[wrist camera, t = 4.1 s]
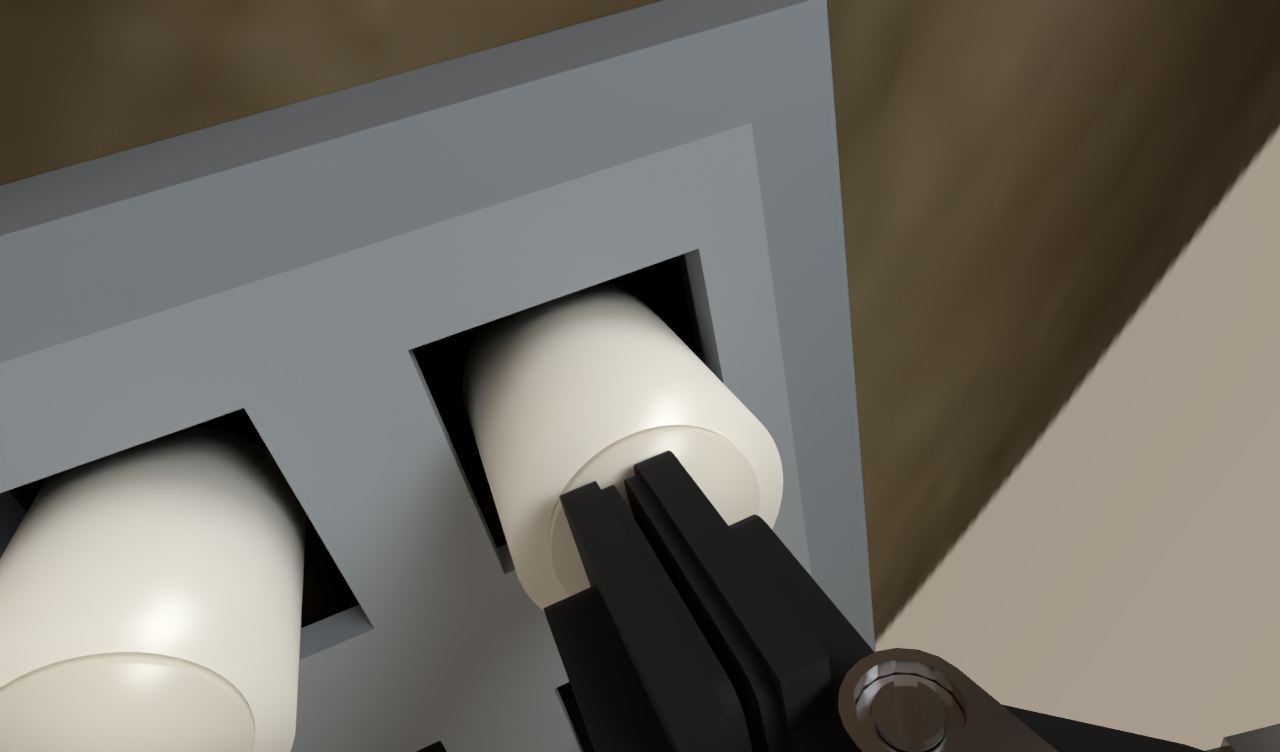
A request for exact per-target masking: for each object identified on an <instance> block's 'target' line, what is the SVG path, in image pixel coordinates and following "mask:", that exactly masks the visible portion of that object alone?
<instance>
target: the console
mask: <svg viewBox="0 0 1280 752" xmlns="http://www.w3.org/2000/svg"><path fill="white" fill-rule="evenodd" d="M676 256H678V258H679V263H680V268H681V273H682V278H683V283H684V288H685V293H686V298H687V303H688V308H689V313H690V318H691V323H692V328H693V333H694V338H695V343H696V348H697V353H698V358H699V359H700V360H701V361H702V362H703V363H704V364H705V365H706V366H707V367H708V368H709V369H710V370H711V371H712V372H713V373H714V374H715V375H716V376H717V378H718V379H719V380H720V381H721V382H722V383H723V384H724V385H725V386H726V387H727V388H728V389H729V390H730V391H731V392H732V393H733V394H734V395H735V396H736V397H737V398H738V399H739V400H740V401H741V402H742V403H743V404H744V405H745V407H746V408H747V409H748V410H749V411H750V412H751V413H752V414H753V415H754V416H755V417H756V418H757V419H758V420H759V421H760V422H761V423H762V424H763V426H764V427H765V428H766V429H767V430H768V432H769V434H770V435H771V437H772V438H773V440H774V442H775V444H776V447H777V449H778V452H779V455H780V459H781V463H782V469H783V493H782V500H781V504H780V509H779V513H778V515H777V518H776V521H775V524H774V527H773V529H772V530H773V531H774V533H775V534H776V535H777V536H778V537H779V539H780V540H781V541H782V542H783V543H784V545H785V546H786V547H787V548H788V549H789V551H790V552H791V553H792V554H793V555H794V557H795V558H796V559H797V560H798V561H799V563H800V564H801V565H802V566H803V567H804V569H805V570H806V571H807V572H808V573H809V575H810V576H811V577H812V578H813V579H814V580H815V582H816V583H817V584H818V585H819V586H820V588H821V589H822V590H823V591H824V592H825V594H826V595H827V596H828V597H829V598H830V600H831V601H832V602H833V603H834V604H835V606H836V607H837V608H838V609H839V610H840V612H841V613H842V614H843V615H844V616H845V618H846V619H847V620H848V621H849V622H850V624H851V625H852V626H853V627H854V628H855V629H856V631H857V632H858V633H859V634H860V635H861V637H862V638H863V639H864V640H865V641H866V643H867V644H868V645H869V646H870V647H871V649H872V650H873V651H874V652H875V638H874V625H873V612H872V599H871V585H870V572H869V559H868V545H867V532H866V519H865V506H864V492H863V479H862V466H861V453H860V439H859V426H858V413H857V400H856V386H855V373H854V360H853V346H852V333H851V320H850V307H849V293H848V280H847V267H846V254H845V240H844V227H843V214H842V200H841V187H840V174H839V161H838V147H837V134H836V121H835V108H834V94H833V81H832V68H831V55H830V41H829V28H828V15H827V1H826V0H663V1H660V2H656V3H652V4H649V5H645V6H642V7H638V8H635V9H631V10H627V11H624V12H620V13H617V14H613V15H609V16H606V17H602V18H599V19H595V20H592V21H588V22H584V23H581V24H577V25H574V26H570V27H567V28H563V29H559V30H556V31H552V32H549V33H545V34H541V35H538V36H534V37H531V38H527V39H524V40H520V41H516V42H513V43H509V44H506V45H502V46H498V47H495V48H491V49H488V50H484V51H481V52H477V53H473V54H470V55H466V56H463V57H459V58H456V59H452V60H448V61H445V62H441V63H438V64H434V65H430V66H427V67H423V68H420V69H416V70H413V71H409V72H405V73H402V74H398V75H395V76H391V77H387V78H384V79H380V80H377V81H373V82H370V83H366V84H362V85H359V86H355V87H352V88H348V89H345V90H341V91H337V92H334V93H330V94H327V95H323V96H319V97H316V98H312V99H309V100H305V101H302V102H298V103H294V104H291V105H287V106H284V107H280V108H276V109H273V110H269V111H266V112H262V113H259V114H255V115H251V116H248V117H244V118H241V119H237V120H234V121H230V122H226V123H223V124H219V125H216V126H212V127H208V128H205V129H201V130H198V131H194V132H191V133H187V134H183V135H180V136H176V137H173V138H169V139H165V140H162V141H158V142H155V143H151V144H148V145H144V146H140V147H137V148H133V149H130V150H126V151H123V152H119V153H115V154H112V155H108V156H105V157H101V158H97V159H94V160H90V161H87V162H83V163H80V164H76V165H72V166H69V167H65V168H62V169H58V170H54V171H51V172H47V173H44V174H40V175H37V176H33V177H29V178H26V179H22V180H19V181H15V182H12V183H8V184H4V185H1V186H0V558H1V556H2V555H3V553H4V551H5V549H6V548H7V546H8V544H9V542H10V541H11V539H12V537H13V535H14V534H15V532H16V530H17V529H18V527H19V525H20V523H21V522H22V520H23V518H24V516H25V515H26V513H27V512H26V511H25V510H24V509H23V507H22V506H21V505H20V504H19V503H18V501H17V500H16V499H15V498H14V497H13V496H12V494H11V493H10V492H9V491H8V490H11V489H14V488H16V487H19V486H22V485H25V484H28V483H31V482H34V481H36V480H39V479H42V478H45V477H48V476H51V475H54V474H56V473H59V472H62V471H65V470H68V469H71V468H74V467H76V466H79V465H82V464H85V463H88V462H91V461H93V460H96V459H99V458H102V457H105V456H108V455H111V454H113V453H116V452H119V451H122V450H125V449H128V448H131V447H133V446H136V445H139V444H142V443H145V442H148V441H151V440H153V439H156V438H159V437H162V436H165V435H168V434H171V433H173V432H176V431H179V430H182V429H185V428H188V427H191V426H193V425H196V424H199V423H202V422H205V421H208V420H211V419H213V418H216V417H219V416H222V415H225V414H228V413H231V412H233V411H236V410H239V409H242V408H244V409H245V410H246V412H247V414H248V415H249V417H250V419H251V420H252V422H253V424H254V426H255V427H256V429H257V431H258V432H259V434H260V436H261V437H262V439H263V441H264V443H265V444H266V446H267V448H268V449H269V451H270V453H271V454H272V456H273V458H274V459H275V461H276V463H277V465H278V466H279V468H280V470H281V471H282V473H283V475H284V476H285V478H286V480H287V481H288V483H289V485H290V487H291V488H292V490H293V492H294V493H295V495H296V497H297V498H298V500H299V502H300V504H301V505H302V507H303V509H304V510H305V512H306V514H307V515H308V517H309V519H310V520H311V522H312V524H313V526H314V527H315V529H316V531H317V532H318V534H319V536H320V537H321V539H322V541H323V542H324V544H325V546H326V548H327V549H328V551H329V553H330V554H331V556H332V558H333V559H334V561H335V563H336V564H337V566H338V568H339V570H340V571H341V573H342V575H343V576H344V578H345V580H346V581H347V583H348V585H349V587H350V588H351V590H352V592H353V593H354V595H355V597H356V598H357V600H358V602H359V603H360V604H359V605H357V606H355V607H352V608H350V609H347V610H345V611H342V612H340V613H337V614H335V615H333V616H330V617H328V618H325V619H323V620H320V621H318V622H316V623H313V624H311V625H308V626H306V627H303V628H301V633H300V653H299V673H298V693H297V713H296V730H295V737H294V741H293V745H292V749H291V751H290V752H416V751H418V750H420V749H422V748H425V747H427V746H429V745H431V744H433V743H436V742H438V741H441V742H442V744H443V746H444V747H445V749H446V751H447V752H594V749H593V746H592V743H591V740H590V738H589V735H588V732H587V729H586V727H585V724H584V721H583V718H582V715H581V713H580V710H579V707H578V704H577V702H576V699H575V697H573V698H571V699H569V700H567V701H565V702H563V701H562V699H561V696H560V694H559V692H558V689H557V687H559V686H561V685H564V684H566V683H568V682H569V679H568V677H567V674H566V671H565V668H564V665H563V663H562V660H561V657H560V654H559V652H558V649H557V646H556V643H555V640H554V638H553V635H552V632H551V629H550V627H549V624H548V621H547V618H546V615H545V612H544V611H543V610H542V609H541V608H540V607H538V606H537V605H536V604H535V603H534V602H533V601H532V599H531V598H530V597H529V596H528V594H527V593H526V592H525V590H524V588H523V586H522V584H521V583H520V581H519V579H518V576H517V573H516V570H515V567H514V563H513V560H512V557H511V554H510V550H509V547H508V544H506V545H503V546H501V547H499V548H497V547H496V545H495V542H494V540H493V538H492V535H491V533H490V531H489V528H488V526H487V524H486V521H485V519H484V517H483V514H482V512H481V510H480V507H479V505H478V503H477V500H476V498H475V496H474V493H473V491H472V489H471V486H470V484H469V482H468V479H467V477H466V475H465V472H464V470H463V468H462V465H461V463H460V461H459V458H458V456H457V454H456V451H455V449H454V447H453V444H452V442H451V440H450V437H449V435H448V433H447V430H446V428H445V426H444V423H443V421H442V419H441V416H440V414H439V412H438V409H437V407H436V405H435V402H434V400H433V398H432V395H431V393H430V391H429V388H428V386H427V384H426V381H425V379H424V377H423V374H422V372H421V370H420V367H419V365H418V363H417V360H416V358H415V356H414V353H413V351H412V349H413V348H416V347H419V346H422V345H425V344H428V343H430V342H433V341H436V340H439V339H442V338H445V337H448V336H450V335H453V334H456V333H459V332H462V331H465V330H468V329H470V328H473V327H476V326H479V325H482V324H485V323H488V322H490V321H493V320H496V319H499V318H502V317H505V316H508V315H510V314H513V313H516V312H519V311H522V310H525V309H528V308H530V307H533V306H536V305H539V304H542V303H545V302H548V301H550V300H553V299H556V298H559V297H562V296H565V295H568V294H570V293H573V292H576V291H579V290H582V289H585V288H587V287H590V286H593V285H596V284H599V283H602V282H605V281H607V280H610V279H613V278H616V277H619V276H622V275H625V274H627V273H630V272H633V271H636V270H639V269H642V268H645V267H647V266H650V265H653V264H656V263H659V262H662V261H665V260H667V259H670V258H673V257H676Z"/></svg>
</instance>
